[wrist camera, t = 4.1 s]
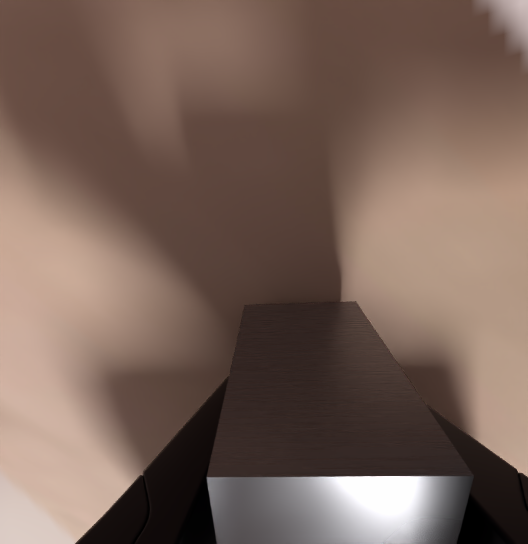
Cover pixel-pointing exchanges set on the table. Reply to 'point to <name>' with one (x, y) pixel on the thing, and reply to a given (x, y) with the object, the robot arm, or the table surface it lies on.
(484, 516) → the robot arm
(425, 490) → the grey mallet
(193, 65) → the table surface
